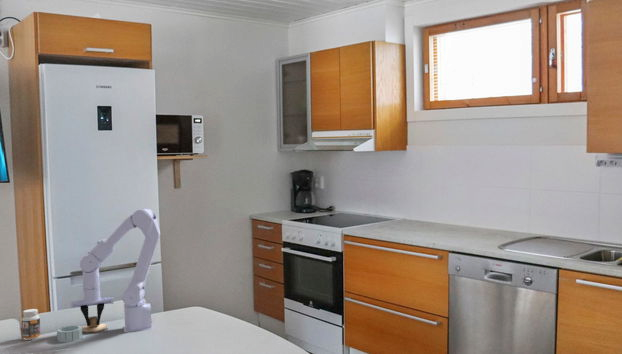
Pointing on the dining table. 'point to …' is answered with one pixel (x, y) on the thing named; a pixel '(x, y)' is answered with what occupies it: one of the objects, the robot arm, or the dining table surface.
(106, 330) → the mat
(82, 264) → the robot arm
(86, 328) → the lid
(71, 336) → the bowl
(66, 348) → the dining table surface
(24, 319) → the pill bottle
